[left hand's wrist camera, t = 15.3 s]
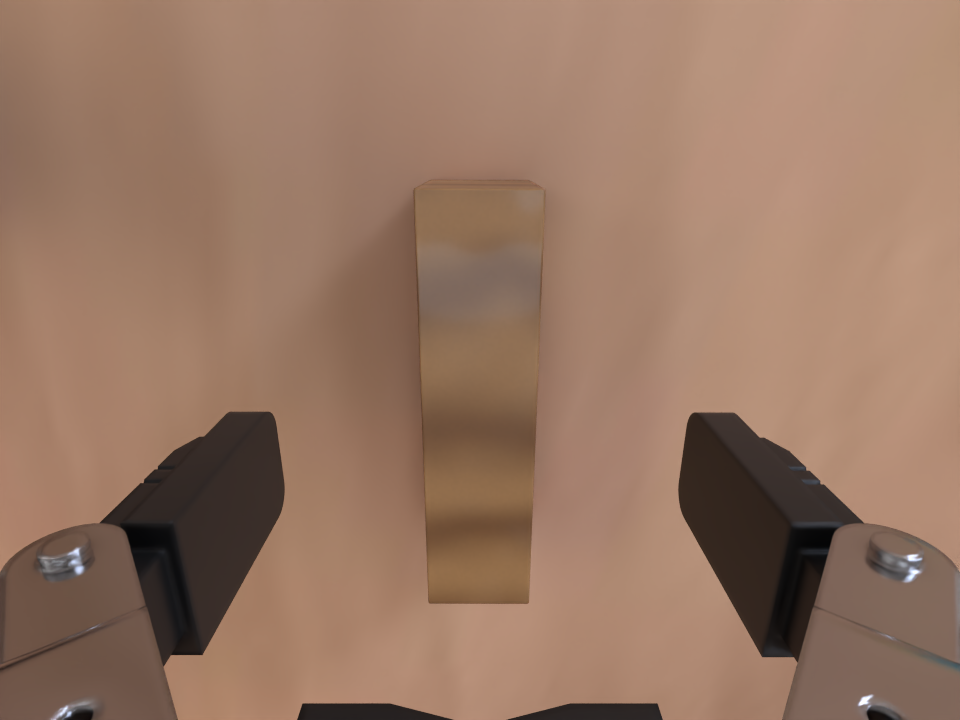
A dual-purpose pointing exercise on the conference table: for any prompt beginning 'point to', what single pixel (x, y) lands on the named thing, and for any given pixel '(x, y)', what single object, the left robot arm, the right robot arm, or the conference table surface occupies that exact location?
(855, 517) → the left robot arm
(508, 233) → the bar
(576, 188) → the conference table surface
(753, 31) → the conference table surface
